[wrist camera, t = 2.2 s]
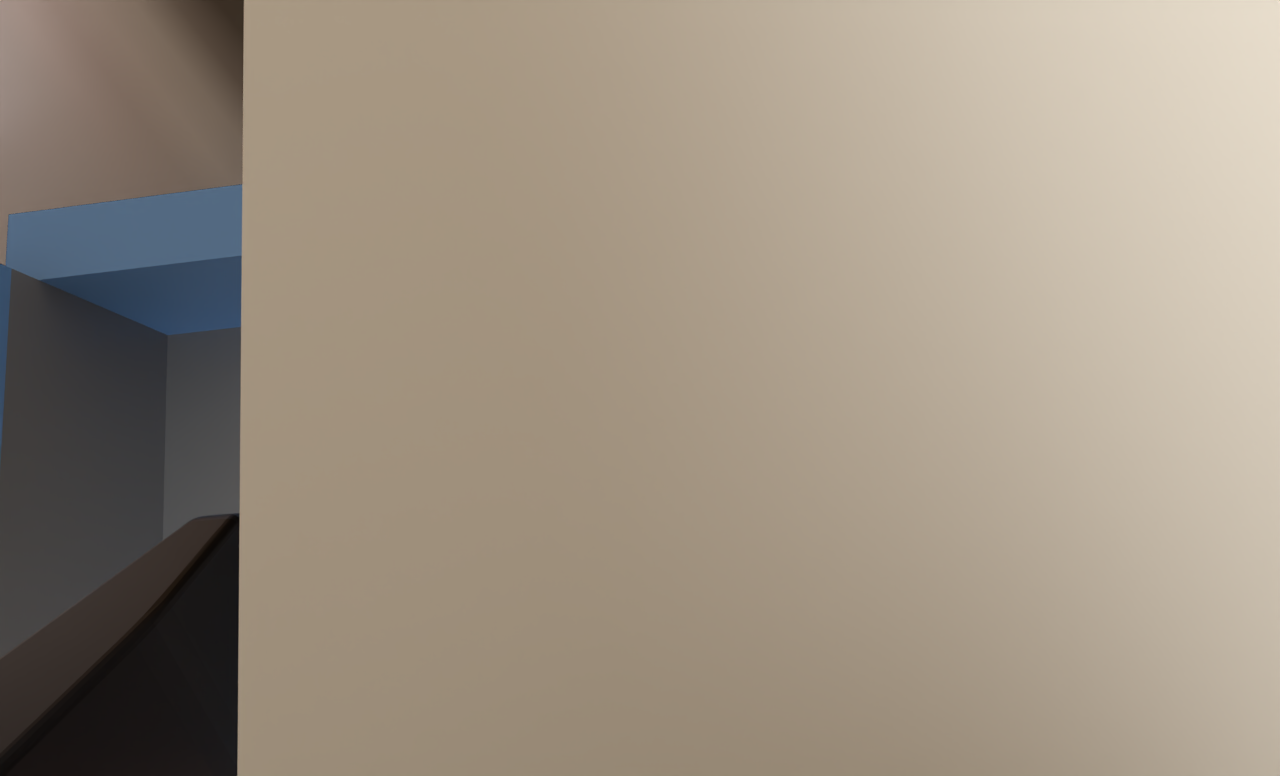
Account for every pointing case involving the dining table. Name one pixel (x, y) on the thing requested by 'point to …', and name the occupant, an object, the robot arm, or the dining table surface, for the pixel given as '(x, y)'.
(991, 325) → the plug
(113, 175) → the dining table surface
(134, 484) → the grey compartment tray
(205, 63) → the dining table surface
